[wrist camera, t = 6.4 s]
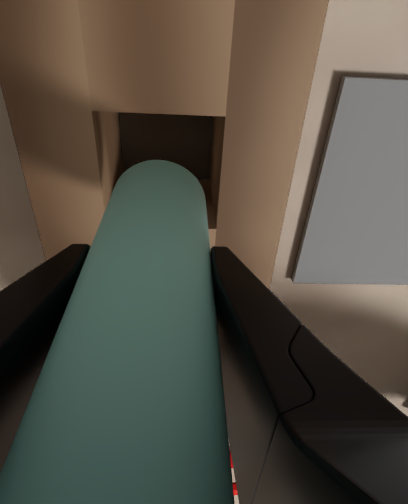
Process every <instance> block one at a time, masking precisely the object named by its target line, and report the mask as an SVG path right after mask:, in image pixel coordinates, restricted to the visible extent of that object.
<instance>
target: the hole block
mask: <svg viewBox="0 0 408 504" xmlns="http://www.w3.org/2000/svg"><path fill="white" fill-rule="evenodd" d="M328 3H329V0H0V84H1V88H2V92H3V96H4V100H5V103H6V107H7V111H8V115H9V119H10V123H11V127H12V131H13V135H14V138H15V142H16V146H17V150H18V154H19V158H20V162H21V166H22V170H23V174H24V177H25V181H26V185H27V189H28V193H29V197H30V201H31V205H32V209H33V212H34V216H35V220H36V224H37V228H38V232H39V236H40V240H41V244H42V247H43V251H44V255H45V259H46V261H47V260H48V259H50V258H51V257H53V256H54V255H56V254H57V253H59V252H60V251H62V250H64V249H65V248H67V247H68V246H70V245H71V244H89V245H90V247H91V245H92V242H93V240H94V237H95V235H96V232H97V230H98V227H99V225H100V222H101V220H102V217H103V215H104V212H105V210H106V207H107V205H108V202H109V200H110V197H111V195H112V192H113V190H114V187H115V185H116V183H117V181H118V179H119V178H120V176H121V175H122V174H123V162H122V150H121V139H120V127H119V115H118V112H128V113H152V114H176V115H200V116H214V118H213V134H212V150H211V166H210V180H199V179H197V180H198V181H199V183H200V184H201V186H202V188H203V191H204V194H205V200H206V210H207V220H208V231H209V241H210V252H211V248H212V247H213V246H226V247H228V248H229V249H230V250H231V251H232V252H233V253H234V254H235V255H236V256H237V257H238V258H239V259H240V260H241V261H242V262H243V263H244V264H245V265H246V266H247V267H248V268H249V269H250V270H251V271H252V272H253V273H254V274H255V276H256V277H257V278H258V279H259V280H260V281H261V282H262V283H263V284H264V285H265V286H266V287H267V288H268V289H269V288H270V283H271V278H272V274H273V269H274V264H275V259H276V254H277V249H278V245H279V240H280V235H281V230H282V225H283V220H284V215H285V211H286V206H287V201H288V196H289V191H290V186H291V182H292V177H293V172H294V167H295V162H296V157H297V153H298V148H299V143H300V138H301V133H302V128H303V124H304V119H305V114H306V109H307V104H308V99H309V95H310V90H311V85H312V80H313V75H314V70H315V66H316V61H317V56H318V51H319V46H320V41H321V37H322V32H323V27H324V22H325V17H326V12H327V7H328Z"/></svg>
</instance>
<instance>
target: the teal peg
mask: <svg viewBox="0 0 408 504" xmlns="http://www.w3.org/2000/svg"><path fill="white" fill-rule="evenodd" d="M0 504H234V494H233V484H232V473H231V463H230V452H229V442H228V431H227V420H226V410H225V399H224V389H223V378H222V368H221V357H220V347H219V336H218V326H217V315H216V305H215V294H214V285H213V275H212V264H211V254H210V241H209V231H208V220H207V210H206V200H205V194H204V191H203V188H202V186H201V184H200V183H199V181H198V180H197V178H196V177H195V176H194V175H193V174H192V173H191V172H190V171H189V170H187V169H186V168H184V167H182V166H180V165H178V164H176V163H173V162H170V161H165V160H148V161H144V162H140V163H138V164H136V165H133V166H132V167H130V168H129V169H127V170H126V171H125V172H124V173H123V174H122V175H121V176H120V178H119V179H118V181H117V183H116V185H115V187H114V190H113V192H112V195H111V197H110V200H109V202H108V205H107V207H106V210H105V212H104V215H103V217H102V220H101V222H100V225H99V227H98V230H97V232H96V235H95V237H94V240H93V242H92V245H91V247H90V250H89V252H88V255H87V257H86V260H85V262H84V265H83V267H82V270H81V272H80V275H79V277H78V280H77V282H76V285H75V287H74V290H73V292H72V295H71V297H70V300H69V302H68V305H67V307H66V310H65V312H64V315H63V317H62V320H61V322H60V325H59V327H58V330H57V332H56V335H55V337H54V340H53V342H52V345H51V347H50V350H49V352H48V355H47V357H46V360H45V362H44V365H43V367H42V370H41V372H40V375H39V377H38V380H37V382H36V385H35V387H34V390H33V392H32V395H31V397H30V400H29V402H28V405H27V407H26V410H25V412H24V415H23V417H22V420H21V422H20V425H19V427H18V430H17V432H16V435H15V437H14V440H13V442H12V445H11V447H10V450H9V453H8V455H7V458H6V460H5V463H4V465H3V468H2V470H1V473H0Z"/></svg>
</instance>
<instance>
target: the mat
mask: <svg viewBox="0 0 408 504" xmlns="http://www.w3.org/2000/svg"><path fill="white" fill-rule="evenodd" d="M292 282H293V283H306V284H394V285H408V79H393V78H373V77H353V76H342V78H341V82H340V87H339V91H338V95H337V99H336V103H335V107H334V111H333V115H332V119H331V123H330V127H329V131H328V135H327V139H326V143H325V147H324V151H323V155H322V159H321V163H320V167H319V171H318V175H317V179H316V183H315V187H314V191H313V195H312V199H311V203H310V207H309V211H308V215H307V219H306V223H305V227H304V231H303V235H302V239H301V243H300V247H299V251H298V255H297V259H296V263H295V267H294V271H293V275H292Z"/></svg>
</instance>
